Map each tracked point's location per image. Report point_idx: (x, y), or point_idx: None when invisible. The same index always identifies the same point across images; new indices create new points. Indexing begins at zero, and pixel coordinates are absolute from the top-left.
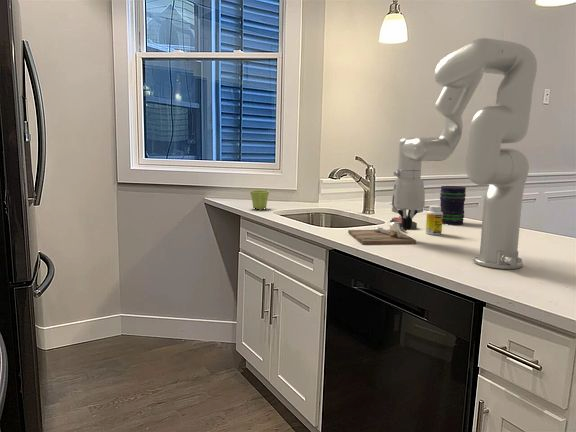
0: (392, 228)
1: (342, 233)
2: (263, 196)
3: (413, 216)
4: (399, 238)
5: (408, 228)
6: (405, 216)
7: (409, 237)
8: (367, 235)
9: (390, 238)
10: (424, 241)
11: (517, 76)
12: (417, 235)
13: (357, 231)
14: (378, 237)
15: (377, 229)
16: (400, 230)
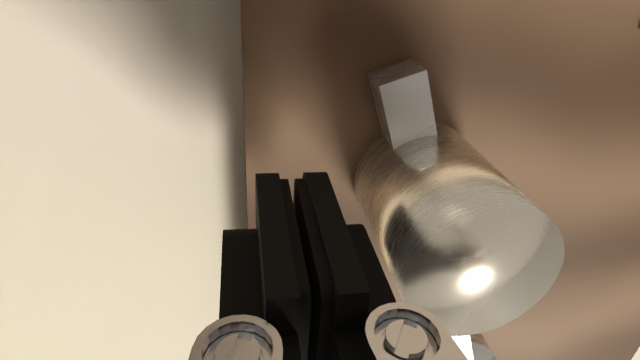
0: (515, 186)
1: (634, 355)
2: None
3: (194, 356)
4: (417, 54)
5: (286, 183)
6: (398, 339)
7: (264, 106)
8: (632, 215)
9: (520, 62)
10: (68, 55)
11: None
12: (85, 333)
13: (594, 346)
14: (605, 124)
15: (485, 346)
16: (385, 185)
